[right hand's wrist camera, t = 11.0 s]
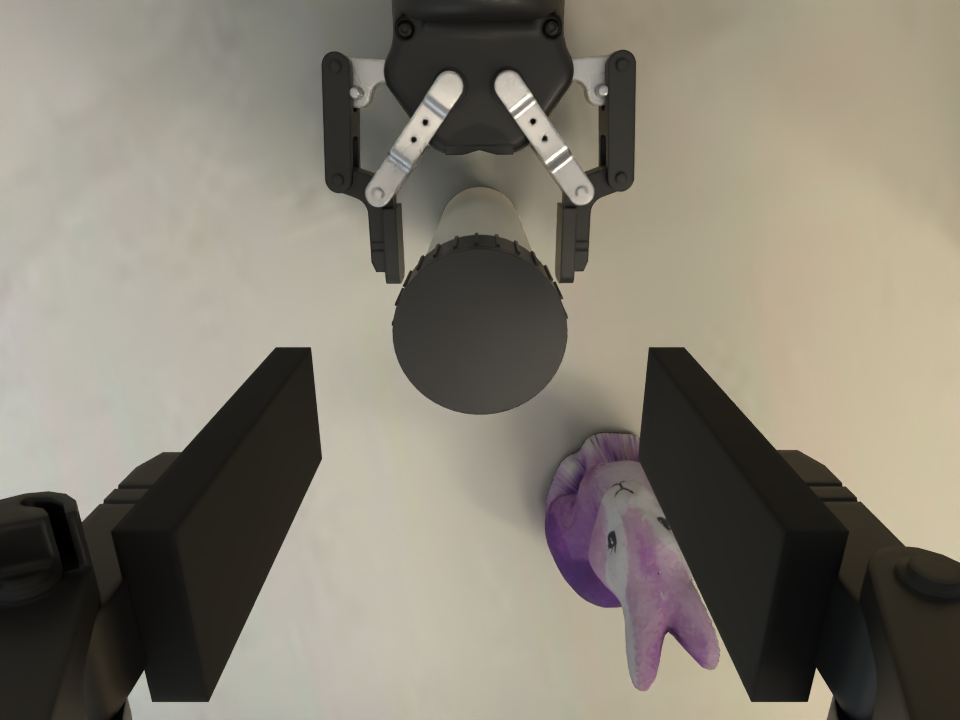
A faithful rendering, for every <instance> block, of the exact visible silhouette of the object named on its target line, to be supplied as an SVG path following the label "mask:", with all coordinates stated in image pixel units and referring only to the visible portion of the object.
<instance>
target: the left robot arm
mask: <svg viewBox="0 0 960 720" xmlns="http://www.w3.org/2000/svg"><path fill="white" fill-rule="evenodd" d="M564 1H565V0H392V12H393V41H392V46H391V49H390V52H389V54H388V56H387V58H386V60H382V59H365V58H350V57H348V56H346V55H344V54H341V53H339V52H330V53H328V54H326V55H325V57H324V58H323V61H322V92H323V124H324V155H325V181H326V184H327V186H328V188H329V189H330V190H331V191H333V192H336V193H344V194H346V195H349V196H352V197H355V198H357V199H359V200H361V201H362V202H363V203H364V204H365V206H366V207H367V210H368V216H369V231H370V246H371V260H372V264H373V266H374V268H375V270H376V272H385V276H386V283H387V284H401V283H402V281H403V278H404V273H405V267H404V247H403V228H402V208H401V203H397V200H396V194H397V193H398V191H399V190H400V188H401V187H402V185H403V184H404V182H405V181H406V179H407V178H408V177H409V175H410V174H411V172H412V171H413V169H414V168H415V167H416V165H417V164H418V163H419V161H420V160H421V158H422V157H423V155H424V154H425V152H426V151H427V149H428V148H429V147H430V145H431V146H432V147H433V148H434V149H436V150H438V151H440V152H442V153H446V155H463V154H467V153H470V152H474V151H477V150H482V151H485V152H489V153H493V154H496V155H504V154H513V153H515V152H518V151H520V150H522V149H523V148H525V147H526V146H527V145H528V144H529V146H530V147H531V149H532V150H533V152H534V153H535V154H536V156H537V157H538V159H539V160H540V161H541V163H542V164H543V165H544V167H545V168H546V169H547V171H548V172H549V174H550V175H551V176H552V178H553V179H554V181H555V182H556V183H557V185H558V186H559V188H560V189H561V191H562V203H557V231H556V260H555V274H556V278H557V280H558V282H559V283H573V282H574V271H584V269H585V266H586V264H587V262H588V251H589V250H588V248H589V232H590V213H591V208H592V206H593V204H594V203H595V201H596V200H598V199H599V198H601V197H603V196H606V195H608V194H611V193H614V192H617V191H619V192H621V191H625V190H627V189H628V188H630V187H631V185H632V184H633V181H634V152H635V90H636V60H635V57H634V56H633V54H632V53H631V52H629V51H627V50H619V51H615V52H613V53H611V54H609V55H606V56H593V57H580V58H571V56H570V54H569V52H568V49H567V47H566V43H565V39H564ZM572 81H574V82H577V83H578V84H580V85H581V87H582V88H583V90H584V96H585V99H586V101H587V102H588V103H589V104H591V105H593V106H599V167H596V168H594V169H591V170H589V171H586V172H584V171H583V170H582V169H581V167H580V166H579V164H578V163H577V161H576V160H575V158H574V157H573V155H572V154H571V152H570V150H569V148H568V147H567V145H566V144H565V142H564V141H563V139H562V138H561V136H560V135H559V133H558V132H557V131H556V129H555V128H554V126H553V125H552V123H551V122H550V120H549V119H548V116H549V115H550V114H551V112H552V111H553V109H554V108H555V106H556V105H557V104H558V102H559V101H560V99H561V98H562V96H563V95H564V94H565V92H566V91H567V89H568V88H569V86H570V84H571V82H572ZM383 83H386V84H387V86H388V88H389V90H390V91H391V92H392V94H393V95H394V96H395V98H396V99H397V101H398V102H399V103H400V105H401V106H402V108H403V109H404V110H405V112H406V113H407V114H408V116H409V117H410V120H409V122H408V123H407V125H406V126H405V128H404V130H403V131H402V133H401V134H400V136H399V137H398V139H397V140H396V142H395V143H394V145H393V146H392V148H391V149H390V151H389V153H388V155H387V157H386V158H385V160H384V161H383V163H382V164H381V166H380V167H379V169H378V170H377V172H376V173H372V172H370V171H367V170H364V169H361V168H360V108H365V107H367V106H369V105H370V104H371V103H372V101H373V98H374V92H375V90H376V88H377V87H378V86H379V85H380V84H383Z"/></svg>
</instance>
